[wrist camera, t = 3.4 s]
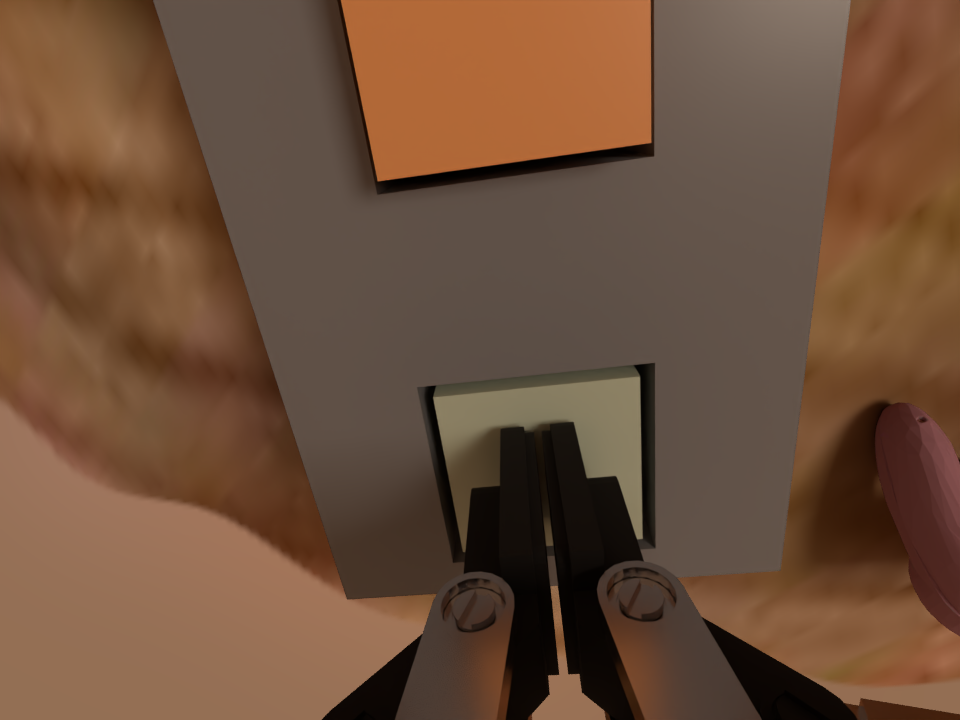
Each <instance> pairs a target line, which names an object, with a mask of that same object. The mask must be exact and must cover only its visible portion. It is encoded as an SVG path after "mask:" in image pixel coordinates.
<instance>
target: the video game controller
mask: <svg viewBox="0 0 960 720" xmlns="http://www.w3.org/2000/svg"><path fill="white" fill-rule="evenodd" d="M875 454H876V463H877V468H878V474H879V480H880V483H881V486H882V490H883V493H884V496H885V500H886V503H887V506H888V508H889V510H890V513H891V515H892V518H893V520H894V522H895V525H896V527H897V529H898V532H899V534H900V537H901V539H902V541H903V544H904V546H905V548H906V551H907V553H908V555H909V574H910V579H911V582H912V584H913V587H914V589H915V591H916V593H917V595H918V597H919V598H920V600H921V602H922V603H923V605H924V606H925V607H926V609H927V610H928V611H929V612H930V613H931V614H932V615H933V616H934V617H935V618H936V619H937V620H938V621H939V622H940V623H941V624H943V625H944V626H945V627H946V628H948V629H949V630H951V631H952V632H954V633H956V634H957V635H959V636H960V462H959V460H958V458H957V455H956V453H955V451H954V448H953V446H952V444H951V442H950V440H949V439H948V437H947V436H946V435H945V434H944V432H943V431H942V430H941V428H940V427H939V426H938V425H937V423H936V422H935V421H934V420H933V419H932V418H931V417H929V416H928V415H927V414H926V413H925V412H924V411H922V410H921V409H919V408H917V407H916V406H914V405H911V404H909V403H895V404H893V405H890V406H887V407H886V408H885V409H884V410H883V411H882V413H881V415H880V417H879V420H878V423H877V426H876V434H875Z"/></svg>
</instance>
